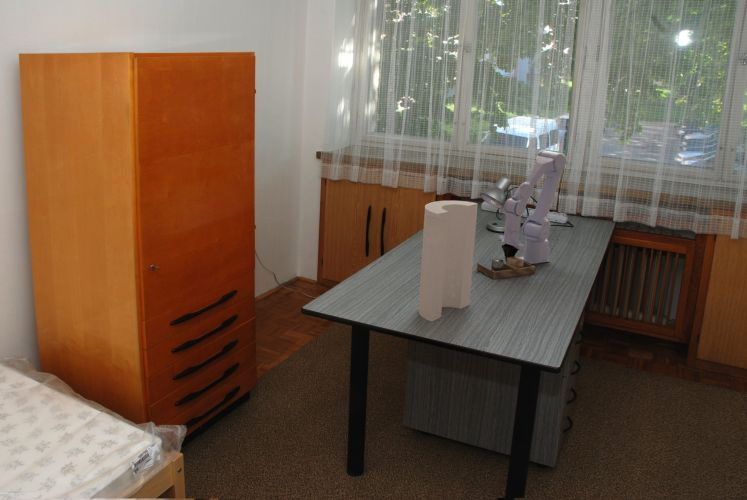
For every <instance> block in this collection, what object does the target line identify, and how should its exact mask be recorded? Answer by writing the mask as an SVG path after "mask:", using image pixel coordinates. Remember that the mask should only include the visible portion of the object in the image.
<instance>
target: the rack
mask: <svg viewBox="0 0 747 500" xmlns="http://www.w3.org/2000/svg"><path fill="white" fill-rule="evenodd" d="M506 264H507V263H503V271H496V272H495V271H493V270H491V268H489V267H487V266H485V265H483V264H481V263H480V262H477V266H476V271H477V270H478V271H479V272H481V273H482V274H485V275H486V276H487V277H489V278H491V279H494V280H496V279H502V278H503V279H505V278H509V277H517V276H523V275H530V274H535V273H536V266H534V265H533V264H530V263H528V262H525V261H524V262H523V268H518V269H514V268H512V267H510V266H508V265H506Z"/></svg>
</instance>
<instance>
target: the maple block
mask: <svg viewBox="0 0 747 500" xmlns="http://www.w3.org/2000/svg"><path fill="white" fill-rule="evenodd" d="M519 257H520V256H517V255H515V256H514V257H507V263H505V264H506V265H508V266H510V267H512V268H514V269H518V268H523V262H525V261H524V260H523V259H521V258H519Z"/></svg>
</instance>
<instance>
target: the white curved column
mask: <svg viewBox="0 0 747 500" xmlns="http://www.w3.org/2000/svg"><path fill="white" fill-rule="evenodd" d="M423 217H424V218H423V233H422V234H423V235H422V246H421V247H422V251H421V263H420V265H421V266H420V283H419V296H418V297H419V299H418V300H419V301H418V313H419V314H418V315H420V317H422V318H423V319H424V320H426V321H428V322H429V323H430V322H433V321H436V320H438V319H440V318H442V310H443V308H455V309H459V310H461V309H463V308H466V307H469V306H470V301H471V300H470V299H471V291H472V290H471V289H472V276H473V265H474V254H475V253H474V252H475V243H476V242H475V241H476V231H477V230H476V229H477V218H478V203H477V202H472V201H466V200H465V201H464V200H438V201H436V200H435V201H432V202H429V203H427V204H425V205H424V216H423Z"/></svg>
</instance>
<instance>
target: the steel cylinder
mask: <svg viewBox="0 0 747 500" xmlns="http://www.w3.org/2000/svg"><path fill="white" fill-rule="evenodd" d="M503 263H504V260H503V259H502V258H493V259H491V267H490V269H491V270H493V271H495V272H496V271H503ZM504 264H505V263H504Z"/></svg>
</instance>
